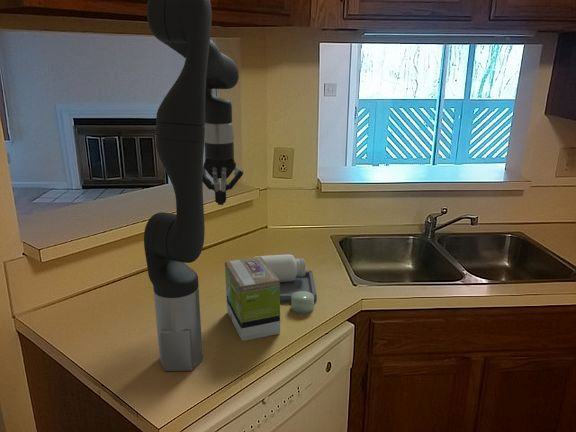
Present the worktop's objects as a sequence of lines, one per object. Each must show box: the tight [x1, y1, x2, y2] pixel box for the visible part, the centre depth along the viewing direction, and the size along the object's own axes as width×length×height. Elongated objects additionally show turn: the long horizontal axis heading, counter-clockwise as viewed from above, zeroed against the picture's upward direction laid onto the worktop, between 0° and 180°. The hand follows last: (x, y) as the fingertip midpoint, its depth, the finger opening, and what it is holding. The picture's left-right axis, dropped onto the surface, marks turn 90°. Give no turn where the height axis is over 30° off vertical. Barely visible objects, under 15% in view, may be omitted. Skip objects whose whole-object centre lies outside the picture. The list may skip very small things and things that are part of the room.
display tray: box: [280, 270, 318, 303], centre depth 140 cm, size 16×16×2 cm
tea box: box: [224, 255, 281, 342], centre depth 120 cm, size 15×10×15 cm, turn 21°
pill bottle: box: [252, 253, 307, 282], centre depth 143 cm, size 8×8×15 cm
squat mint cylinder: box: [290, 291, 315, 315], centre depth 129 cm, size 6×6×4 cm
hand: (221, 204), depth 132 cm, fingers closed
